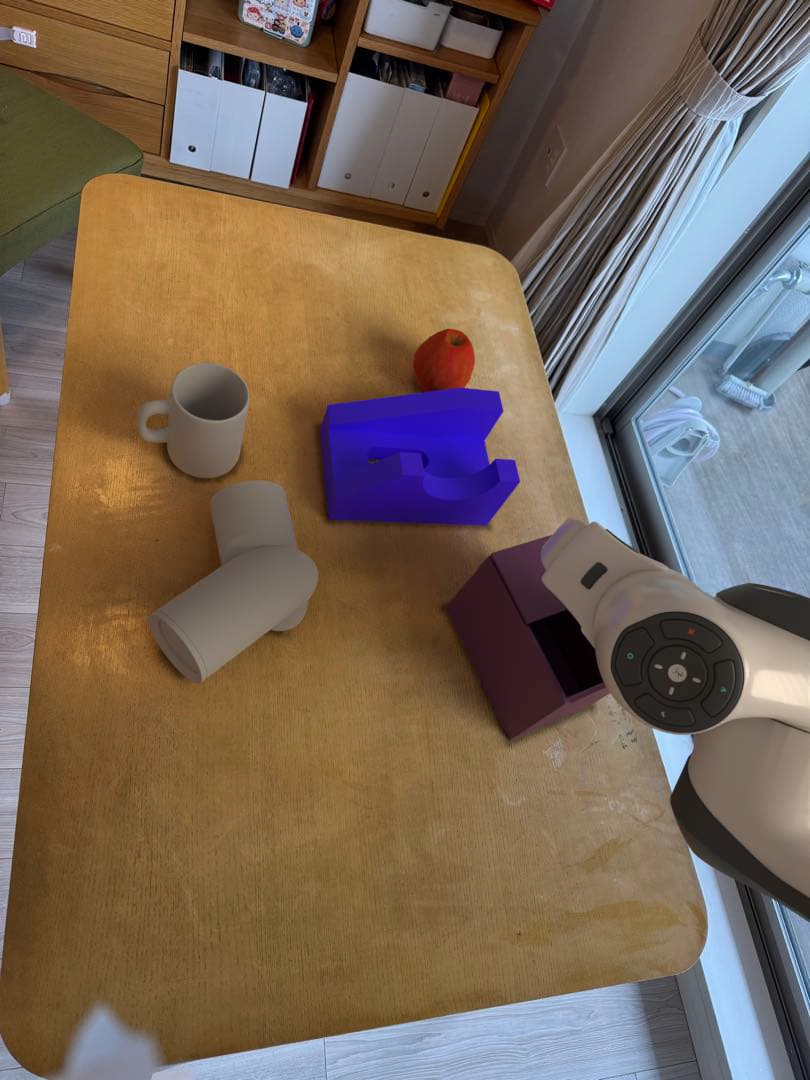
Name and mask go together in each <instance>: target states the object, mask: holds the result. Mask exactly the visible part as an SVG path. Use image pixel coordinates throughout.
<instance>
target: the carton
mask: <svg viewBox="0 0 810 1080" xmlns="http://www.w3.org/2000/svg"><path fill="white" fill-rule="evenodd" d="M552 535H553V534H550V535H547V536H543V537H539V538H536V539H533V540H530V541H527V542H523V543H520V544H516V545H513V546H510V547H507V548H503V549H501V550H500V549H499V550H497V551H493V552H491V553H490V555H488V556H486V558H484V560H483V561H482V562H481V564H480V565H479V566H478V567H477V569H476V570H475V571H474V572H473V573H472V574H471V576H470V577H469V578H468V579H467V581H466V582H465V583H464V584H463V586H462V587H461V588H460V589H459V590H458V592H457V593H456V594H455V595H454V597H453V598H452V599H451V600H450V602H449V603H448V604H447V605H446V607H444V610H445V611H446V613H447V615H448V617H449V619H450V621H451V623H452V625H453V627H454V629H455V631H456V633H457V636H458V637H459V640H460V642H461V644H462V646H463V648H464V650H465V652H466V654H467V657H468V659H469V660H470V662H471V664H472V666H473V668H474V670H475V672H476V674H477V676H478V679H479V681H480V683H481V685H482V687H483V690H484V691H485V693H486V695H487V697H488V698H489V701H490V704H491V705H492V707H493V709H494V711H495V713H496V715H497V717H498V719H499V721H500V724H501V726H502V728H503V730H504V732H505V734H506V736H507V738H508V740H509V741H512V740H515V739H517V738H519V737H521V736H522V737H523V736H524V735H526V734H528V733H531V732H533V731H535V730H537V729H540V728H542V727H545V726H547V725H549V724H550V723H554V722H556V721H558V720H560V719H562V718H565V717H567V716H569V715H573V714H574V713H577V712H578V711H581V710H583V709H585V708H588V707H590V706H592V705H594V704H596V703H597V702H598V701H600V700H601V699H603V698H605V697H606V696H608V695H611V693H610V692H609V690H608V689H607V688H605V689H603V690H601V691H598V692H596V693H594V694H591V695H589V696H587V697H584V698H582V699H580V700H577V701H575V702H573V703H570V702H569V699H571V698H573V697H575V696H578V695H580V694H582V693H584V692H586V691H589V690H591V689H593V688H595V687H598V686H600V685H602V684H604V681H603V679H602V677H601V674H600V671H599V667H598V663H597V658H596V652H595V648H594V647H593V646H592V644H591V643H590V642H589V640H588V639H587V638H586V637H585V635H584V634H583V633H582V631H581V625H580V624H579V622H578V621H577V620H576V619H575V618H574V617H573V616H572V615H571V614H570V613H569V611H568V610H567V609H566V608H565V607H564V606H563V605H562V604H561V603H560V602H559V601H558V600H557V598H556V597H555V596H554V595H553V594H552V593H551V592H550V590H549V589H548V588H547V587H546V586H545V585H544V584H543V582H542V579H541V578H542V576H543V575H544V573H545V572H546V569H545V568H544V566H543V564H542V561H541V550H542V547H543V545H544V544H545V543H546V542H547V540H548V539H549V538H550V537H551V536H552Z"/></svg>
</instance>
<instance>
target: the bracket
mask: <svg viewBox="0 0 810 1080" xmlns="http://www.w3.org/2000/svg"><path fill="white" fill-rule="evenodd" d="M503 413H504V406H503V403H502V399H501V395H500V391H499V390H489V389H481V388H480V389H479V388H468V387H465V388H454V389H446V390H439V391H431V392H424V391H423V392H417V393H416V392H415V393H409V394H401V395H393V396H385V397H379V398H378V397H377V398H371V399H361V400H354V401H347V402H339V403H332V404H327V406H326V409H325V412H324V415H323V417H322V421H321V424H320V427H319V435H320V445H321V455H322V466H323V476H324V486H325V497H326V507H327V517H328V520H329V521H349V522H351V521H352V522H375V523H376V522H381V523H406V524H428V525H429V524H430V525H431V524H432V525H456V526H457V525H459V526H488V525H489V524H490V522H491V521H492V519H494V517H495V516H496V514H497V513H498V512H499V511H500V509H501V508H502V506H503V505H504V504H505V502H506V501H507V500H508V499H509V497H510V496H511V495H512V494H513V492H514V491H515V490H516V488H517V487H518V486H519V485H520V483H521V478H520V474H519V470H518V466H517V462H516V459H508V458H494V459H493V461H491V463H490V460H489V455H488V449H487V445H486V440H487V438H488V437H489V435H490V433H491V432H492V430H493V429H494V427H495V426H496V424H497V422H498V421H499V419H500V417H501V416H502V414H503ZM369 460H377V461H374V462H370V461H369Z"/></svg>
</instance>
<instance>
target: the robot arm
mask: <svg viewBox="0 0 810 1080" xmlns="http://www.w3.org/2000/svg"><path fill="white" fill-rule="evenodd" d="M551 535H552V536H551V537H550V538H549V539H548V540H547V542H546V543H545V544H544V545H543V547H542V550H541V561H542V564H543V566H544V568H545V569H546V572H545V573H544V575H543V576H542V578H541V579H542V582H543V584H544V585H545V586H546V587H547V588H548V589H549V590H550V592H551V593H552V594H553V595H554V596H555V597H556V598H557V600H558V601H559V602H560V603H561V604H562V605H563V606H564V607H565V608H566V609H567V610H568V611H569V613H570V614H571V615H572V616H573V617H574V618H575V619H576V620H577V621H578V622H579V624H580V625H581V627H582V628H583V630H584V632H585V633H586V635H587V637H588V638H589V640H590V641H591V643H592V644H593V646H595V652H596V658H597V663H598V667H599V671H600V674H601V677H602V679H603V681H604V683H605V685H606V687H607V689H608V690H609V692H610V695H611V696H612V698H613V699H614V700H615V701H616V702H617V704H618V705H620V706H621V708H623V709H624V711H626V712H627V713H628V714H630V715H631V716H632V718H635V720H637V721H639V722H640V723H642V724H644V725H645V726H647V727H649V728H651V729H654V730H656V731H659V732H661V733H665V734H670V735H675V736H689V735H690V736H691V735H697V736H696V739H695V742H694V745H693V748H692V751H691V753H690V754H689V755H688V757H687V759H686V761H685V763H684V765H683V768H682V770H681V772H680V774H679V777H678V779H677V780H676V783H675V785H674V788H673V790H672V792H671V794H670V797H669V803H670V807H671V810H672V814H673V816H674V819H675V821H676V824H677V826H678V828H679V831H680V832H681V835H682V837H683V839H684V840H685V842H686V844H687V846H688V848H689V849H690V851H691V852H692V853H693V854H694V855H695V856H696V857H697V858H698V859H699V860H701V861H702V862H704V863H705V864H706V865H708V866H710V867H712V868H713V869H715V870H717V871H718V872H720V873H722V874H724V875H726V876H727V877H729V878H731V879H733V880H734V881H737V882H739V883H741V884H743V885H745V886H746V887H748V888H751V889H752V890H754V891H756V892H758V893H760V894H762V895H764V896H766V897H768V898H770V899H772V900H774V901H775V902H777V903H778V904H780V905H781V906H783V907H785V908H787V909H788V910H789V911H791V912H792V913H794V914H795V915H797V916H799V917H800V918H802V919H803V920H805V921H806V922H808V923H810V597H808V596H806V595H802V594H799V593H797V592H794V591H790V590H786V589H782V588H778V587H775V586H771V585H766V584H761V583H755V582H747V583H742V584H737V585H733V586H730V587H728V588H727V587H726V588H724V589H722V590H720V591H718V592H716V593H715V596H712V595H711V594H710V593H708V592H706V591H704V590H703V589H702V588H700V587H699V586H697V585H696V583H694V582H693V581H692V580H691V579H690V578H688V576H685V575H684V574H682V573H681V572H679V571H677V570H674V569H671V568H670V567H669V566H667V565H666V564H665V563H662V562H660V561H657V560H655V559H653V558H650V557H648V556H646V555H644V554H642V553H640V552H639V551H638V549H636V548H634V547H632V546H631V545H629V544H628V543H626V542H625V541H623V540H622V539H621V538H620V537H618V536H617V535H616V534H614V533H613V532H612V531H610V530H609V529H608V528H605V527H604V526H603V525H601V524H600V523H599V522H597V521H591V522H590V523H588V524H587V523H585V522H584V521H582V520H580V519H578V518H575V517H568V518H567V519H565V520H564V521H563V522H562V524H561V525H559V527H558V528H556V530H555V531H554V532H553V534H551Z"/></svg>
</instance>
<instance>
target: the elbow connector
mask: <svg viewBox="0 0 810 1080" xmlns="http://www.w3.org/2000/svg"><path fill="white" fill-rule="evenodd" d="M209 509H210V514H211V518H212V524H213V531H214V535H215V540H216V546H217V551H218V557H219V563H220V566H219V567H218V568H217V569H215V570H214V571H211V572H210V573H209V574H208V575H206V576H204V577H203V578H201V580H199V581H197V582H196V583H194V584H192V585H191V586H189V588H187V589H185V590H183V592H181V593H180V594H178V595H176V596H175V597H174V598H172V599H170V600H169V601H168V602H166V603H165V604H163V605H162V606H160V607H159V608H157V609H156V610H154V611H152V612H151V613H150V614H148V616H147V623H148V627H149V630H150V632H151V634H152V637H153V638H154V641H156V643H157V645H158V647H159V648H160V650H161V651H162V652H163V654H164V656H165V657H166V658H167V659H168V660H169V661H170V663H171V664H172V665H173V666H174V668H176V670H178V672H179V673H180V674H181V675H182V676H184V677H185V678H186V679H188V680H189V681H190V682H192V683H194V684H198V685H199V684H202V683H203V682H204V681H205V680H207V679H208V678H209V677H210V676H212V675H213V674H214V673H216V672H217V671H218V670H220V669H221V668H222V667H224V665H225V666H226V664H227V663H229V662H230V661H231V660H234V658H235V657H236V656H238V655H239V654H241V653H242V652H243V651H244V650H246V649H247V648H248V647H250V646H251V645H253V644H254V643H255V642H256V641H258V640H259V639H260V638H262V637H263V636H264V635H265V634H267V633H268V632H269V631H274V632H282V631H289V630H291V629H293V628H295V627H297V626H298V625H299V624H300V623H301V622H302V620H303V619H304V617H305V616H306V614H307V610H308V606H309V599H310V598H311V597H312V595H313V594H314V592H315V590H316V588H317V586H318V582H319V571H318V568H317V566H316V565H317V564H316V563H315V561H314V560H313V559H312V558H311V556H309V555H308V554H307V553H305V552H304V551H302V550H300V549H299V547H298V543H297V538H296V534H295V530H294V525H293V521H292V516H291V512H290V508H289V503H288V499H287V495H286V490H285V489H284V488H283V487H282V486H281V485H280V484H278V483H276V482H273V481H271V480H264V479H252V480H243V481H239V482H236V483H232V484H230V485H228V486H226V487H224V488H222V489H220V490H219V491H217V492H216V493H214V495H213V497H212V498H211V499H210V503H209Z"/></svg>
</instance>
